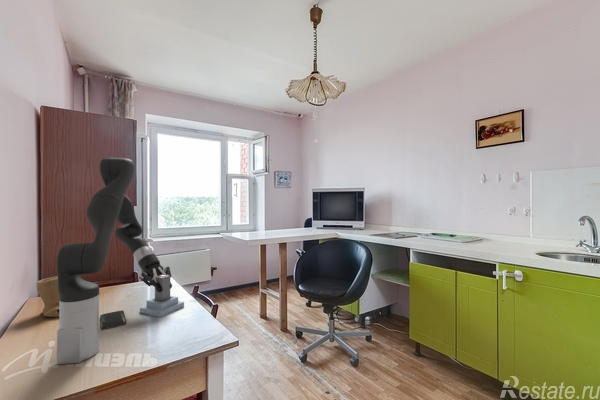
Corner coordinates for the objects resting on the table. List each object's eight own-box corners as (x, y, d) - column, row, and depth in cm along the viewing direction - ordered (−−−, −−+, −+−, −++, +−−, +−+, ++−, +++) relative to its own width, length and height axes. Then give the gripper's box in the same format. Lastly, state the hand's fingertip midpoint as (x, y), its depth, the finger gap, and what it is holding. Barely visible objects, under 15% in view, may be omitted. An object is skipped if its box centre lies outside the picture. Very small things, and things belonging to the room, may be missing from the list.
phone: (123, 310, 113) (126, 322, 101) (123, 312, 113) (126, 325, 101) (99, 314, 108) (100, 328, 96) (99, 317, 108) (100, 331, 96)
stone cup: (36, 311, 114) (37, 275, 114) (73, 304, 122) (73, 271, 122) (35, 322, 103) (35, 283, 103) (75, 314, 111) (76, 277, 111)
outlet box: (184, 306, 119) (184, 296, 119) (160, 317, 108) (160, 305, 108) (164, 302, 123) (164, 292, 123) (139, 312, 112) (139, 301, 112)
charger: (170, 298, 117) (170, 275, 117) (162, 302, 113) (162, 277, 113) (162, 297, 118) (163, 273, 118) (154, 300, 115) (154, 276, 115)
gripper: (135, 256, 112) (155, 289, 107) (164, 250, 125) (183, 279, 120) (126, 267, 114) (146, 300, 109) (156, 261, 127) (175, 290, 122)
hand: (165, 289), depth 115 cm, fingers closed on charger, 4 cm apart
